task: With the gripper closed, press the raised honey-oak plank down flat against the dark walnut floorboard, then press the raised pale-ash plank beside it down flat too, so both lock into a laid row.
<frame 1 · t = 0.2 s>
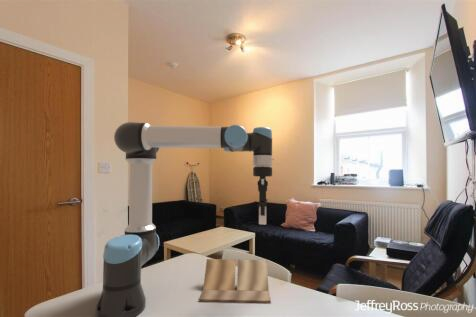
hand: (262, 220, 96), 27 cm above the table, fingers open, 13 cm apart
far ash plank: (252, 275, 98), point 5 cm above the table, hinge at 45.0°
near oak plank: (220, 274, 98), point 5 cm above the table, hinge at 45.0°
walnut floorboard: (235, 299, 89), on the table
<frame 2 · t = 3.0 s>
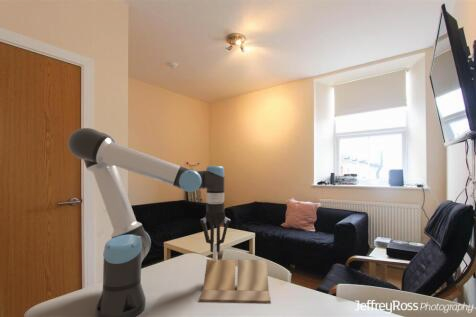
hand: (215, 259, 102), 10 cm above the table, fingers closed
near oak plank: (220, 274, 98), point 5 cm above the table, hinge at 43.4°, touching gripper
everything else where it was.
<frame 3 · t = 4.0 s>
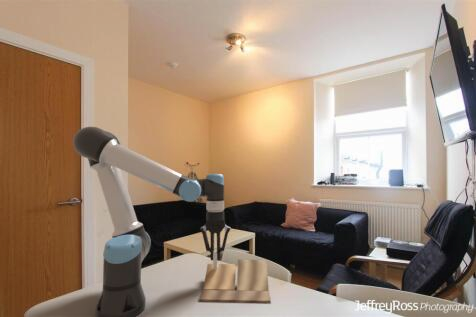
hand: (215, 267, 101), 7 cm above the table, fingers closed
near oak plank: (220, 277, 99), point 4 cm above the table, hinge at 27.8°, touching gripper
everything else where it was.
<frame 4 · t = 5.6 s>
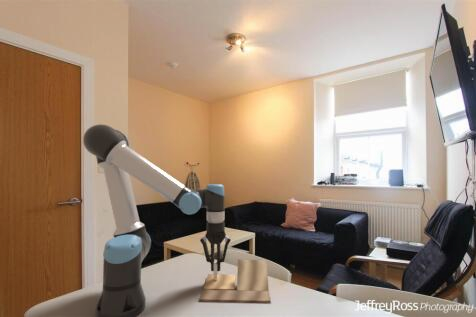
hand: (215, 278, 101), 2 cm above the table, fingers closed
near oak plank: (220, 283, 100), point 1 cm above the table, hinge at 2.4°, touching gripper
everything else where it was.
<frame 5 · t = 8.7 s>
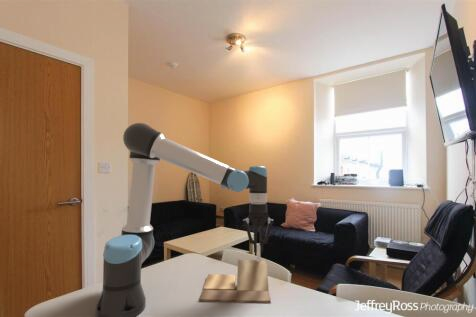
hand: (258, 260, 101), 10 cm above the table, fingers closed
far ash plank: (252, 275, 98), point 5 cm above the table, hinge at 43.7°, touching gripper
near oak plank: (220, 283, 100), point 1 cm above the table, hinge at 2.3°
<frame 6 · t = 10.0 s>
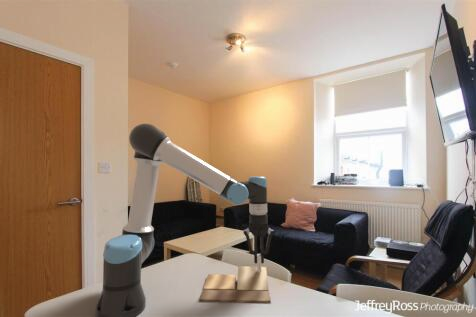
hand: (259, 271, 101), 6 cm above the table, fingers closed
far ash plank: (252, 278, 99), point 3 cm above the table, hinge at 22.2°, touching gripper
everything else where it was.
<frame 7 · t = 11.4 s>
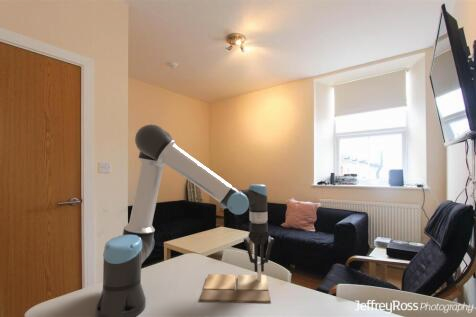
hand: (259, 279, 101), 2 cm above the table, fingers closed
far ash plank: (252, 283, 99), point 1 cm above the table, hinge at 2.7°, touching gripper
everything else where it was.
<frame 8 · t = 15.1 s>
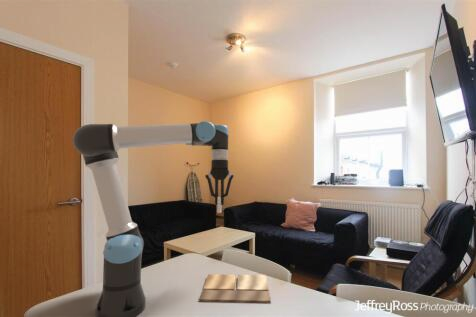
hand: (219, 212, 109), 28 cm above the table, fingers closed
far ash plank: (252, 283, 99), point 1 cm above the table, hinge at 2.6°
everything else where it was.
at the end: near oak plank at +2° (first picture: +45°); far ash plank at +3° (first picture: +45°) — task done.
